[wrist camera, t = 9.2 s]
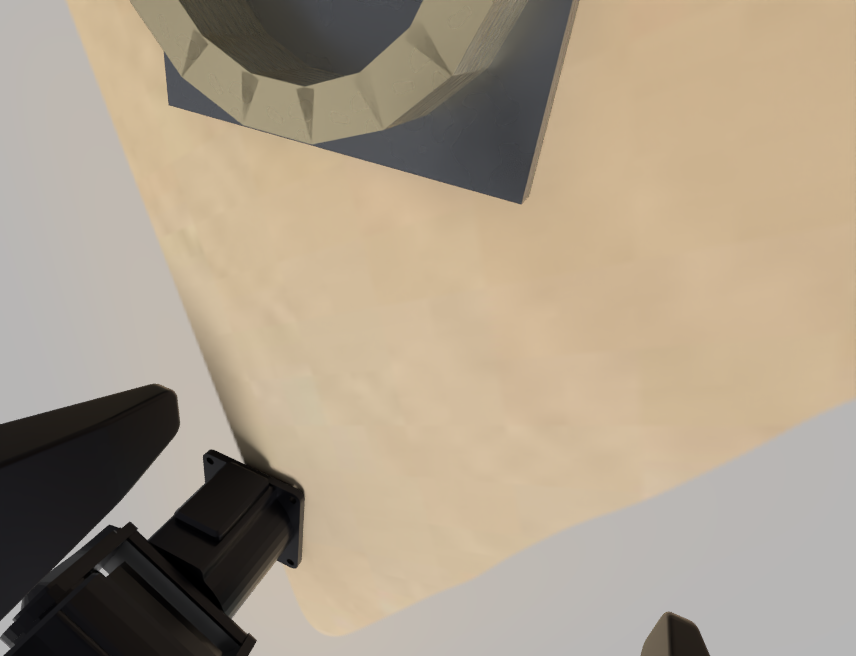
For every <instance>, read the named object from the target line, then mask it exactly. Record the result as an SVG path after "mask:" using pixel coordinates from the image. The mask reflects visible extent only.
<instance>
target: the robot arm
mask: <svg viewBox="0 0 856 656" xmlns="http://www.w3.org/2000/svg"><path fill="white" fill-rule="evenodd" d="M179 426H180V417H179V409H178V400H177V395H176V393H175V392H174V391H173V390H171V389H169V388H166V387H164V386H162V385H159V384H150V385H147V386H142V387H139V388H135V389H131V390H127V391H124V392H120V393H116V394H112V395H109V396H105V397H101V398H97V399H93V400H90V401H86V402H82V403H78V404H75V405H71V406H67V407H63V408H60V409H56V410H52V411H49V412H45V413H41V414H37V415H33V416H30V417H26V418H22V419H18V420H15V421H11V422H7V423H3V424H0V621H1V620H2V619H3V618H4V617H5V616H6V615H7V614H8V613H9V612H10V611H11V610H12V609H13V608H14V607H15V606H16V605H17V604H18V603H19V602H20V601H21V600H22V604H21V611H20V612H19V613H18V614H17V615H16V616H15V617H14V618H13V621H14V623H13V624H12V625H11V626H10V627H9V628H8V629H7V630H6V631H5V632H4V633H3V634H2V636H1V637H0V639H1V640H2V641H3V642H4V643H5V644H6V645H7V646H8V647H9V648H11V649H10V650H9V651H8V652H7V653H6V654H5V655H4V656H248V655H249V653H250V652H251V650H252V648H253V647H254V645H255V643H256V641H257V640H256V639H255V638H254V637H253V636H252V635H251V634H250V633H248V634H247V633H245V632H244V631H243V630H242V629H241V628H240V627H239V626H238V625H237V624H236V623H235V622H234V621H233V620H232V617H233V616H234V615H235V613H236V612H237V611H238V609H239V608H240V607H241V606H242V605H243V603H244V602H245V601H246V599H247V598H248V597H249V595H250V594H251V592H253V590H254V589H255V588H256V586H257V585H258V584H259V582H260V581H261V580H262V579H263V577H264V576H265V575H266V573H267V572H268V571H269V570H270V568H271V567H272V566H273V564H274V563H275V562H276V560H277V561H279V562H281V563H283V564H285V565H287V566H289V567H291V568H297V567H298V565H299V564H300V563H301V560H302V540H303V520H304V500H305V498H304V495H303V493H302V492H301V491H300V490H298V489H296V488H294V487H292V486H290V485H288V484H286V483H284V482H281V481H279V480H277V479H275V478H273V477H271V476H269V475H266V474H264V473H262V472H260V471H258V470H256V469H254V468H251V467H249V466H247V465H245V464H243V463H241V462H239V461H236V460H234V459H232V458H230V457H228V456H226V455H223V454H222V453H219V452H217V451H215V450H209V451H208V452H207V453H205V454H204V455H203V463H204V474H205V484H204V485H203V486H202V487H201V488H200V489H199V490H197V491H196V492H195V493H194V494H193V495H192V496H191V497H190V498H189V499H188V500H187V501H186V502H185V503H184V504H183V505H182V506H181V507H180V508H178V509H177V510H176V512H175V513H174V515H173V516H172V517H171V518H170V519H169V520H168V521H167V522H166V523H165V524H164V525H163V526H162V527H161V528H160V529H159V530H158V531H157V532H155V533H154V534H153V535H152V536H151V537H150V538H149V539H148V540H146V539H145V538H144V537H143V536H142V535H141V534H140V533H139V532H138V531H137V529H138V528H137V527H136V526H135V525H134V524H132V523H131V522H129V523H127V524H126V525H125V526H124V527H123V528H118V527H115V526H112V525H108V526H107V527H106V528H105V529H103V530H102V531H101V532H100V533H99V534H98V535H96V536H95V537H94V538H93V539H92V540H91V541H89V542H88V543H87V544H86V545H85V546H84V547H82V548H81V549H80V550H79V551H77V552H76V553H75V554H73V555H72V556H71V557H69V558H68V559H67V560H65V561H64V562H62V563H61V564H60V565H58V566H57V567H56V568H54V567H55V566H56V565H57V564H58V563H59V562H60V561H61V560H62V559H63V558H64V557H65V556H66V555H67V554H68V553H69V552H70V551H71V550H72V549H73V548H74V547H75V546H76V545H77V544H78V543H79V542H80V541H81V540H82V539H83V538H84V537H85V536H86V535H87V534H88V533H89V532H90V531H91V530H92V529H93V528H94V527H95V526H96V525H97V524H98V523H99V522H100V521H101V520H102V519H103V518H104V517H105V516H106V515H107V514H108V513H109V512H110V511H111V510H112V509H113V508H114V507H115V506H116V505H117V504H118V503H119V502H120V501H121V500H122V499H123V497H124V496H125V495H126V494H127V493H128V492H129V491H130V489H131V488H132V487H133V486H134V485H135V483H136V482H137V481H138V480H139V479H140V477H141V476H142V475H143V474H144V473H145V471H146V470H147V469H148V468H149V467H150V465H151V464H152V463H153V462H154V461H155V459H156V458H157V457H158V456H159V455H160V453H161V452H162V451H163V450H164V449H165V447H166V446H167V445H168V444H169V442H170V441H171V440H172V439H173V438H174V436H175V435H176V433H177V432H178V429H179ZM53 568H54V569H53ZM101 568H103V569H104V570H105V571H107V572H108V573H109V575H108V576H107V577H105V576H104V575H103V574H102V573H100V572H99V570H100V569H101ZM52 569H53V570H52ZM51 570H52V571H51ZM641 656H710V655H709V652H708V650H707V648H706V645H705V643H704V641H703V638H702V636H701V634H700V631H699V629H698V627H697V626H696V625H695V624H694V623H693V622H692V621H690V620H688V619H686V618H683V617H681V616H679V615H676V614H674V613H672V612H666V613H664V614H663V615H662V617H661V618H660V619H659V621H658V622H657V624H656V625H655V627H654V629H653V630H652V631H651V633H650V634H649V636H648V637H647V639H646V641H645V643H644V645H643V649H642V652H641Z"/></svg>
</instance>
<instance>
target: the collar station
mask: <svg viewBox="0 0 856 656" xmlns="http://www.w3.org/2000/svg"><path fill="white" fill-rule="evenodd" d="M130 2H131V4H132V5H133V7H134V8H135V10H136V11H137V13H138V14H139V15H140V17H141V18H142V20H143V21H144V23H145V24H146V26H147V27H148V29H149V30H150V31H151V33H152V34H153V36H154V37H155V39H156V40H157V42H158V43H159V45H160V46H161V47H162V49H163V50H164V59H165V70H166V81H167V92H168V103H169V105H170V106H174V107H177V108H181V109H184V110H188V111H191V112H195V113H199V114H202V115H206V116H209V117H213V118H216V119H220V120H223V121H227V122H230V123H234V124H238V125H241V126H245V127H248V128H252V129H255V130H259V131H262V132H266V133H270V134H273V135H277V136H280V137H284V138H287V139H291V140H294V141H298V142H301V143H305V144H309V145H312V146H316V147H319V148H323V149H326V150H330V151H333V152H337V153H341V154H344V155H348V156H351V157H355V158H358V159H362V160H365V161H369V162H372V163H376V164H380V165H383V166H387V167H390V168H394V169H397V170H401V171H404V172H408V173H412V174H415V175H419V176H422V177H426V178H429V179H433V180H436V181H440V182H443V183H447V184H451V185H454V186H458V187H461V188H465V189H468V190H472V191H475V192H479V193H483V194H486V195H490V196H493V197H497V198H500V199H504V200H507V201H511V202H514V203H518V204H522V203H523V202H524V201H525V200H526V199H527V198H528V197H529V194H530V190H531V186H532V182H533V178H534V174H535V171H536V167H537V163H538V159H539V155H540V151H541V147H542V143H543V140H544V136H545V132H546V128H547V124H548V120H549V116H550V112H551V108H552V105H553V101H554V97H555V93H556V89H557V85H558V81H559V77H560V74H561V70H562V66H563V62H564V58H565V54H566V50H567V46H568V43H569V39H570V35H571V31H572V27H573V23H574V19H575V15H576V11H577V8H578V4H579V0H130Z"/></svg>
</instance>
